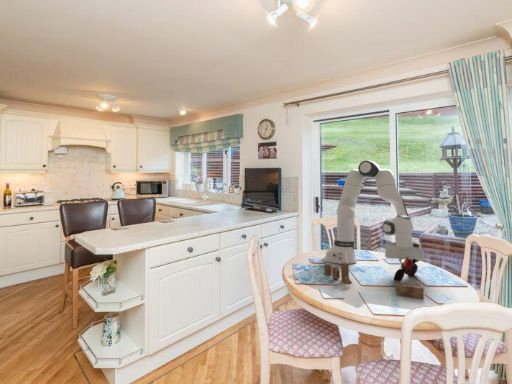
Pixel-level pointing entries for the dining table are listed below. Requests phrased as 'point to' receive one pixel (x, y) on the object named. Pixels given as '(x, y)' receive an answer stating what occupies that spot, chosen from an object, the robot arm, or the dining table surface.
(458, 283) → the dining table surface
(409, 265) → the toy motorcycle
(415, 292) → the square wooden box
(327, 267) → the wooden block set
